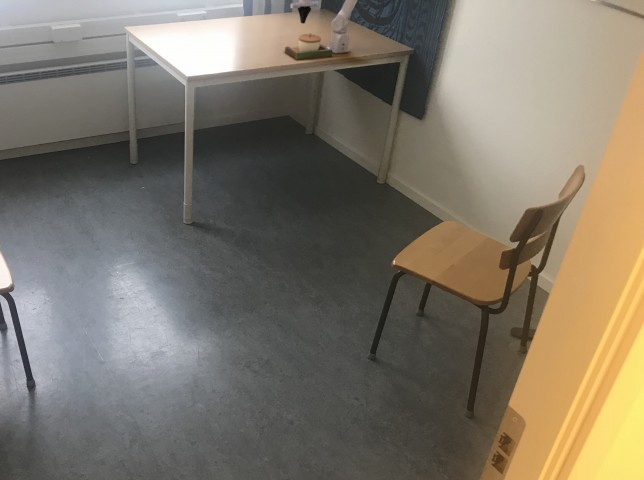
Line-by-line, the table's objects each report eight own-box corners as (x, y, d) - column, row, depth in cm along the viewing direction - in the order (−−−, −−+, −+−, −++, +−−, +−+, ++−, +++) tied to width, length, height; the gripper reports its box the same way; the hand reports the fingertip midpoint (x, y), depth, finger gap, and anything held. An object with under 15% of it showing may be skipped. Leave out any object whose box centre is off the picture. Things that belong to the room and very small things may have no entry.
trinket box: (304, 49, 346) (306, 29, 340) (323, 53, 340) (325, 33, 335) (292, 54, 339) (294, 34, 333) (311, 58, 334) (314, 38, 328)
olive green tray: (331, 56, 338) (332, 49, 336) (296, 59, 332) (297, 53, 330) (319, 48, 347) (319, 42, 345) (284, 52, 341) (285, 45, 340)
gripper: (315, -10, 343) (311, 19, 352) (288, -8, 339) (285, 22, 347) (322, -7, 338) (318, 23, 347) (295, -5, 334) (292, 25, 342)
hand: (302, 22), depth 347 cm, fingers closed
